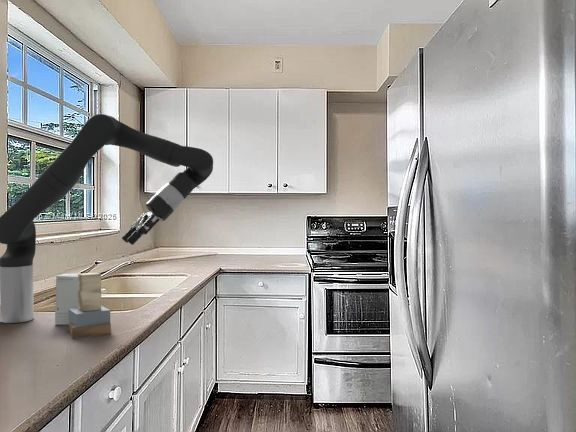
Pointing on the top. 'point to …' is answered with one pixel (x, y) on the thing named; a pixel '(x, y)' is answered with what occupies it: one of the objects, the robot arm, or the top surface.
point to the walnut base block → (89, 330)
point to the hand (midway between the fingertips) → (126, 241)
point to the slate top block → (89, 317)
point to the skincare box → (65, 297)
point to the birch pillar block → (89, 291)
